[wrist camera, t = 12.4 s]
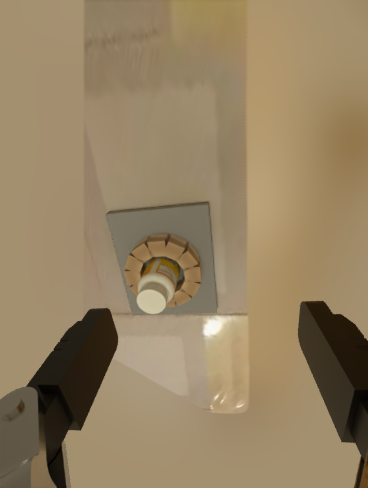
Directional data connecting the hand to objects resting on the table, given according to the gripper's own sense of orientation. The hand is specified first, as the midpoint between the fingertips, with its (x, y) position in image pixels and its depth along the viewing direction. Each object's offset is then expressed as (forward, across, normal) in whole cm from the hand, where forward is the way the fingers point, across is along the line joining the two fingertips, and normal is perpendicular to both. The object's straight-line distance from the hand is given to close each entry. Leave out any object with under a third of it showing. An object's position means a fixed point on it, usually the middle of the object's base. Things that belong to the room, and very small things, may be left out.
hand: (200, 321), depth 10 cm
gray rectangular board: (+28, +8, +12) cm, 32 cm away
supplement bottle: (+27, +8, +12) cm, 30 cm away
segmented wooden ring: (+27, +8, +12) cm, 30 cm away
